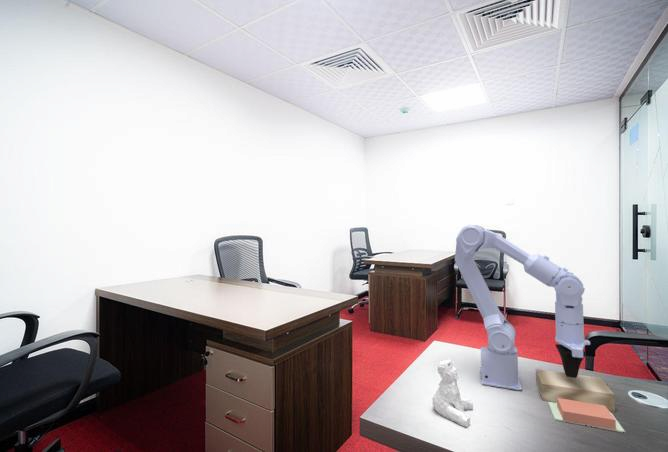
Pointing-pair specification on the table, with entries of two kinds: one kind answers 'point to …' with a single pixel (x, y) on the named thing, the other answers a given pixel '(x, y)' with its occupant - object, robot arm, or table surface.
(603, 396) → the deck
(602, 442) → the table surface
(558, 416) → the mat
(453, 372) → the seated beast figurine
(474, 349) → the table surface
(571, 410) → the salmon pink block
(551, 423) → the table surface
